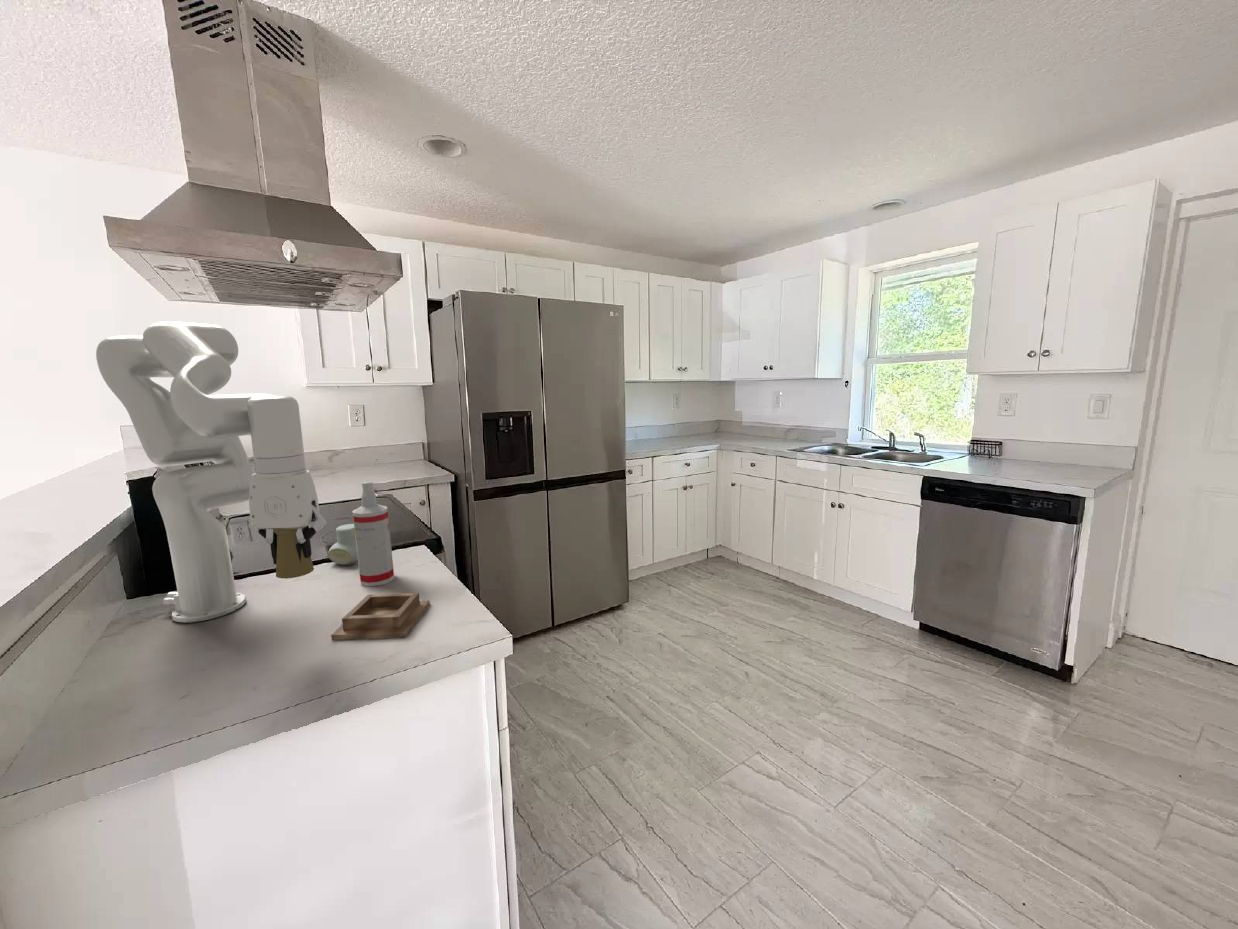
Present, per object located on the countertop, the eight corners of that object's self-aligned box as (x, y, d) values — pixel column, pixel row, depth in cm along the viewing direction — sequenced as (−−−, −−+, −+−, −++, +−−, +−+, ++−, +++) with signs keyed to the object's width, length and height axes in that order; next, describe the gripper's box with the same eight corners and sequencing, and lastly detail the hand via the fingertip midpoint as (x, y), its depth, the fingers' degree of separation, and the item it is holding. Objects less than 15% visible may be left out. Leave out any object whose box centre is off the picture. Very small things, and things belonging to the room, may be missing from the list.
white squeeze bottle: (353, 583, 121) (341, 484, 117) (378, 572, 128) (368, 478, 124) (376, 588, 118) (366, 486, 114) (400, 576, 125) (391, 480, 121)
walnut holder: (331, 639, 95) (329, 623, 94) (365, 606, 109) (363, 591, 108) (405, 637, 95) (403, 620, 95) (429, 604, 109) (428, 589, 109)
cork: (295, 579, 89) (288, 521, 87) (267, 577, 90) (259, 519, 88) (321, 567, 95) (315, 512, 93) (294, 564, 96) (288, 510, 94)
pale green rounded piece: (323, 565, 134) (319, 530, 132) (347, 554, 142) (343, 521, 140) (357, 568, 131) (353, 532, 130) (379, 557, 139) (375, 523, 138)
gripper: (217, 469, 85) (232, 570, 88) (316, 468, 85) (327, 568, 89) (248, 461, 92) (260, 554, 95) (338, 461, 93) (348, 553, 96)
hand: (292, 560), depth 92 cm, fingers closed on cork, 3 cm apart
